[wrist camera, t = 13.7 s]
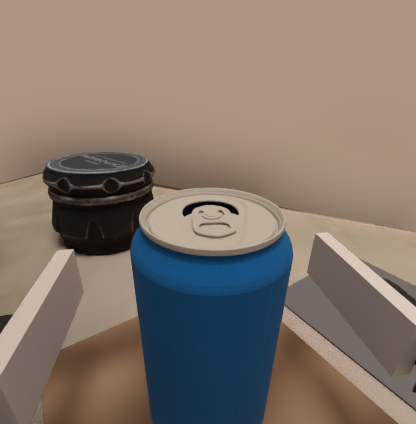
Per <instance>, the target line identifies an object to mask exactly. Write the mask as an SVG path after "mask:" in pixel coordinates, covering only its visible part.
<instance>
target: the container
mask: <svg viewBox="0 0 416 424" xmlns="http://www.w3.org/2000/svg"><path fill="white" fill-rule="evenodd" d="M42 173H43V182H44V183H45V184H46V185H48V186H49V188H48V194H49V196H50V198H51V199H52V200H53V209H52V225H53V228H54V230H55V231H56V232H58V233H60V234H61V236H62V238H63V240H64V243H65V245H66V246H67V247H68V248H69V249H74V251H76V252H78V253H84V254H88V255H103V254H113V253H117V252H121V251H125V250H128V249H130V248H131V243H132V239H133V237H134V234H135V232H136V231H137V229H138V228H139V226H140V224H139V215H140V212H141V210H142V208H143V207H144V206H145V205H146V204H147V203H149V202H150V201H152V200H153V199H154V198H153V194H152V191H151V190H152V188H153V186H154V185H153V180H152V179H151V178H152V176H153V175H154V173H155V169H154V167H153V166H152V165H151V163H150V162H149V160H148V159H147V157H145V156H142V155H139V154H134V153H126V152H89V153H79V154H73V155H67V156H62V157H59V158H56V159H53V160H51V161H50V162H47V163H46V167H45V169H44V171H43V172H42Z"/></svg>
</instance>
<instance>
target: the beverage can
mask: <svg viewBox="0 0 416 424" xmlns="http://www.w3.org/2000/svg"><path fill="white" fill-rule="evenodd" d="M139 224H140V226H139V228H138V229H137V231H136V232H135V234H134V237H133V239H132V243H131V248H130V253H131V262H132V270H133V278H134V286H135V294H136V302H137V310H138V317H139V325H140V333H141V341H142V349H143V357H144V365H145V373H146V381H147V389H148V397H149V404H150V412H151V417H152V421H153V423H154V424H262V422H263V418H264V414H265V408H266V403H267V397H268V392H269V386H270V381H271V375H272V370H273V364H274V359H275V353H276V348H277V342H278V337H279V331H280V326H281V320H282V315H283V309H284V304H285V298H286V293H287V287H288V282H289V276H290V271H291V265H292V259H293V249H292V244H291V241H290V238H289V236H288V234H287V233H286V231H285V226H286V217H285V215H284V213H283V212H282V210H281V209H280V208H279V207H278V206H277V205H275V204H274V203H272V202H270V201H269V200H267V199H265V198H262V197H260V196H258V195H255V194H251V193H248V192H243V191H238V190H232V189H224V188H194V189H185V190H179V191H175V192H171V193H167V194H164V195H162V196H159V197H157V198H155V199H153V200H152V201H150V202H149V203H147V204H146V205H145V206H144V207H143V208H142V210H141V212H140V215H139Z"/></svg>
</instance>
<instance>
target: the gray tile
mask: <svg viewBox="0 0 416 424" xmlns="http://www.w3.org/2000/svg"><path fill="white" fill-rule="evenodd" d="M358 259H359V258H358ZM360 260H361V259H360ZM361 261H362V262H363V263H364V264H365V265H367V266H368V267H369V268H370V269H371V270H373V271H374V272H375V273H376V274H377V275H378V276H380V277H381V278H386V279H388V280H390V281H391V282H393V283H395V284H397V285H398V286H400V287H401V288H402V289H403V290H404V291H406V292H407V294H409V295H411V296H412V297H413V298H414V299H415V301H416V286H414V285H412V284H410V283H408V282H406V281H404V280H402V279H400V278H398V277H396V276H394V275H392V274H390V273H388V272H386V271H384V270H382V269H379V268H377V267H375V266H373V265H371V264H369V263H367V262H365V261H363V260H361ZM284 305H285V306H286V307H287V308H289V309H290V310H291V311H292V312H294V313H295V314H296V315H297V316H299V317H300V318H301V319H302V320H304V321H305V322H306V323H307V324H309V325H310V326H311V327H312V328H314V329H315V330H316V331H317V332H319V333H320V334H321V335H322V336H324V337H325V338H326V339H327V340H329V341H330V342H331V343H332V344H334V345H335V346H336V347H337V348H339V349H340V350H341V351H342V352H344V353H345V354H346V355H347V356H349V357H350V358H351V359H352V360H354V361H355V362H356V363H357V364H359V365H360V366H361V367H362V368H364V369H365V370H366V371H367V372H369V373H370V374H371V375H372V376H374V377H375V378H376V379H377V380H378V381H380V382H381V383H382V384H383V385H385V386H386V387H387V388H388V389H390V390H391V391H392V392H393V393H395V394H396V395H397V396H398V397H400V398H401V399H402V400H403V401H405V402H406V403H407V404H408V405H410V406H411V407H412V408H413V409H415V410H416V393H414V392H412V390H413V386H414V385H415V383H416V365H415V364H414V366H413V368H412V370H411V372H410V374H409V375H404V376H398V377H391V376H390V375H389V373H388V372H387V371H386V370H385V368H384V367H383V366H382V365H381V363H380V362H379V361H378V360H377V358H376V357H375V356H374V355H373V354H372V352H371V351H370V350H369V349H368V347H367V346H366V345H365V344H364V342H363V341H362V340H361V339H360V337H359V336H358V335H357V334H356V332H355V331H354V330H353V329H352V327H351V326H350V325H349V324H348V322H347V321H346V320H345V319H344V317H343V316H342V315H341V314H340V312H339V311H338V310H337V309H336V308H335V306H334V305H333V304H332V303H331V301H330V300H329V299H328V298H327V296H326V295H325V294H324V293H323V291H322V290H321V289H320V288H319V286H318V285H317V284H316V283H315V281H314V280H313V279H312V278H311V276H310V275H309V276H307V277H305V278H304V279H302V280H300V281H298V282H296V283H294V284H293V285H291V286H289V287H287V293H286V298H285V304H284Z"/></svg>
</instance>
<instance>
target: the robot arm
mask: <svg viewBox="0 0 416 424" xmlns="http://www.w3.org/2000/svg"><path fill="white" fill-rule="evenodd" d="M307 273H308V274H309V275H310V276H311V278H312V279H313V280H314V281H315V283H316V284H317V285H318V286H319V288H320V289H321V290H322V291H323V293H324V294H325V295H326V296H327V298H328V299H329V300H330V301H331V303H332V304H333V305H334V306H335V308H336V309H337V310H338V311H339V312H340V314H341V315H342V316H343V317H344V319H345V320H346V321H347V322H348V324H349V325H350V326H351V327H352V329H353V330H354V331H355V332H356V334H357V335H358V336H359V337H360V339H361V340H362V341H363V342H364V344H365V345H366V346H367V347H368V349H369V350H370V351H371V352H372V354H373V355H374V356H375V357H376V358H377V360H378V361H379V362H380V363H381V365H382V366H383V367H384V368H385V370H386V371H387V372H388V373H389V375H390V376H391V377H398V376H404V375H409V374H410V372H411V370H412V368H413V366H414V364H415V365H416V301H415V299H414V298H413V297H412V296H411V295H409V294H407V292H406V291H404V290H403V289H402V288H401V287H400V286H398V285H397V284H395V283H393V282H391V281H390V280H388V279H386V278H381V277H380V276H378V275H377V274H376V273H375V272H374V271H373V270H371V269H370V268H369V267H368V266H367V265H365V264H364V263H363V262H362V261H361V260H360V259H358V258H357V257H356V256H355V255H354V254H352V253H351V252H350V251H349V250H348V249H347V248H345V247H344V246H343V245H342V244H341V243H339V242H338V241H337V240H336V239H335V238H333V237H332V236H331V235H330V234H329V233H315V238H314V242H313V247H312V252H311V256H310V261H309V266H308V270H307ZM83 293H84V291H83V287H82V282H81V278H80V274H79V269H78V265H77V261H76V256H75V252H74V249H68V250H57V252H56V253H55V255H54V256H53V257H52V259H51V260H50V262H49V263H48V265H47V266H46V268H45V269H44V271H43V272H42V274H41V275H40V277H39V278H38V279H37V281H36V282H35V284H34V285H33V287H32V288H31V290H30V291H29V293H28V294H27V296H26V297H25V299H24V300H23V301H22V303H21V304H20V306H19V307H18V309H17V310H16V312H15V313H14V315H4V316H0V424H31V421H32V419H33V416H34V414H35V411H36V409H37V406H38V404H39V401H40V399H41V396H42V394H43V391H44V389H45V386H46V384H47V382H48V379H49V377H50V374H51V372H52V369H53V367H54V364H55V362H56V359H57V357H58V354H59V352H60V349H61V347H62V344H63V342H64V340H65V337H66V335H67V332H68V330H69V327H70V325H71V322H72V320H73V317H74V315H75V312H76V310H77V307H78V305H79V303H80V300H81V298H82V295H83ZM412 392H414V393H416V383H415V385H414V386H413V390H412Z"/></svg>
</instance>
